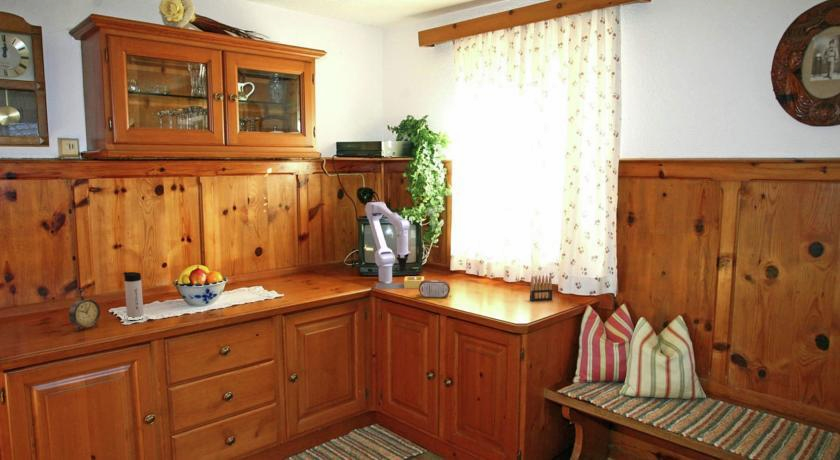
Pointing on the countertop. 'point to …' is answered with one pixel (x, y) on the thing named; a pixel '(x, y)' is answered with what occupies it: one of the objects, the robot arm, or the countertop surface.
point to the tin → (434, 288)
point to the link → (412, 282)
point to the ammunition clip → (541, 289)
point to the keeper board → (391, 286)
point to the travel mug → (133, 294)
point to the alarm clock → (84, 312)
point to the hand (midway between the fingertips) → (402, 269)
